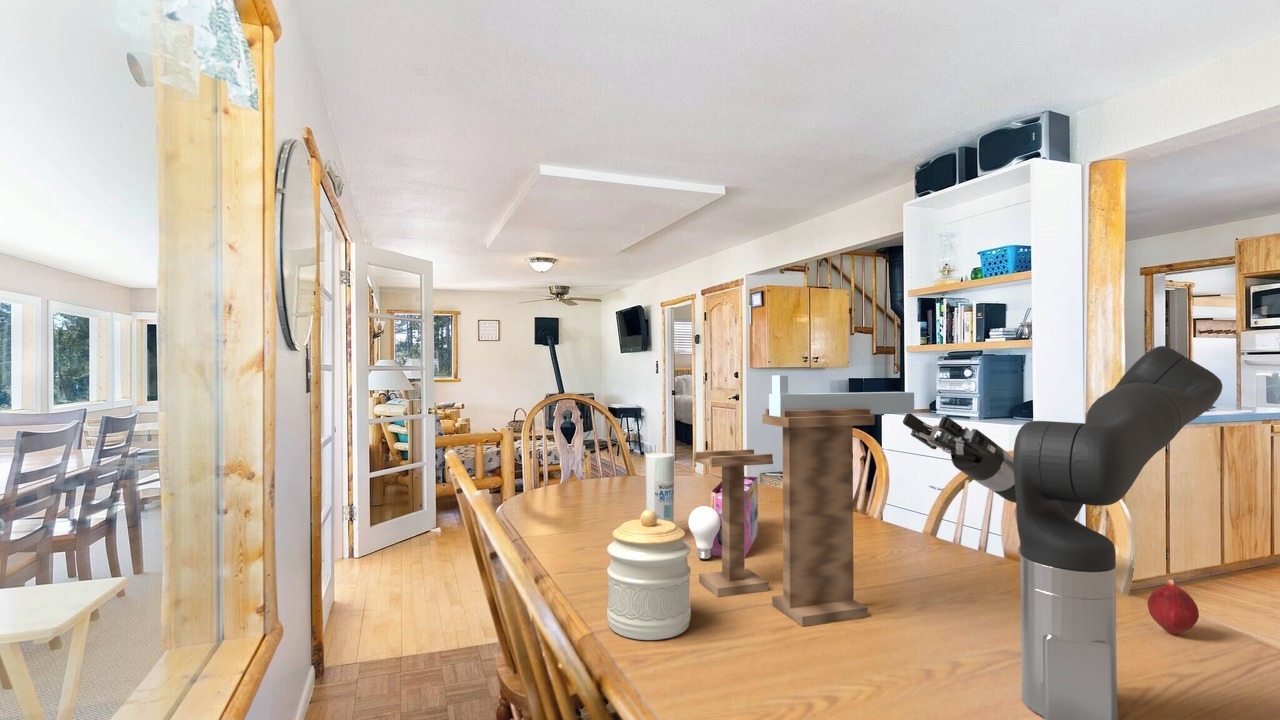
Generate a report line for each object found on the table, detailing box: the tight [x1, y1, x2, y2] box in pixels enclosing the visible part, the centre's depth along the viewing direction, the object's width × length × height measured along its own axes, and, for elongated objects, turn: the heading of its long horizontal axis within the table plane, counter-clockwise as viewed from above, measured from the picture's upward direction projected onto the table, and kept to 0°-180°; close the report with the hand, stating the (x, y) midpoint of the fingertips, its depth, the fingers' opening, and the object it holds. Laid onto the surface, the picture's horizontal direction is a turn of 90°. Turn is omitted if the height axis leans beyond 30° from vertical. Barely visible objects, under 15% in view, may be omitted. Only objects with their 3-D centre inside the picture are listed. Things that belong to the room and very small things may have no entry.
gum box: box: [709, 475, 759, 560], centre depth 142 cm, size 24×8×14 cm, turn 163°
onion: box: [1147, 578, 1200, 635], centre depth 94 cm, size 6×6×8 cm
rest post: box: [693, 449, 774, 598], centre depth 115 cm, size 12×8×24 cm, turn 108°
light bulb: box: [688, 505, 721, 561], centre depth 131 cm, size 7×7×11 cm
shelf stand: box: [761, 408, 876, 627], centre depth 103 cm, size 16×9×33 cm, turn 108°
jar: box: [606, 509, 692, 641], centre depth 98 cm, size 13×13×18 cm
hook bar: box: [768, 374, 915, 417], centre depth 105 cm, size 26×4×6 cm, turn 108°
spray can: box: [645, 452, 675, 524], centre depth 144 cm, size 6×6×20 cm
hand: (923, 419), depth 110 cm, fingers open, 8 cm apart
